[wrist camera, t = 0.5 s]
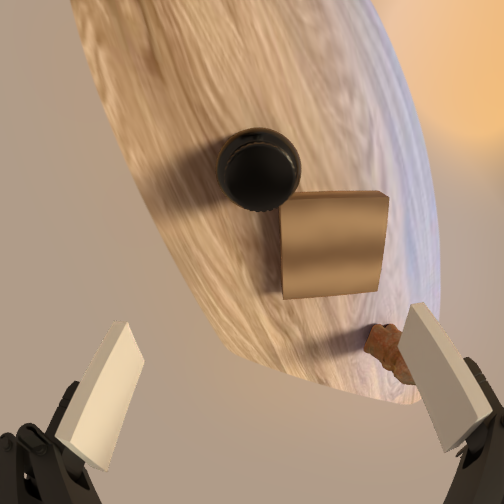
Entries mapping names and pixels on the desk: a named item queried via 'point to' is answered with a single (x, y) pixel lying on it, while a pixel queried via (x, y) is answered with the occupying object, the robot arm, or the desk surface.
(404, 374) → the figurine
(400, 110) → the desk surface
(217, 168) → the supplement bottle
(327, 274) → the pedestal
